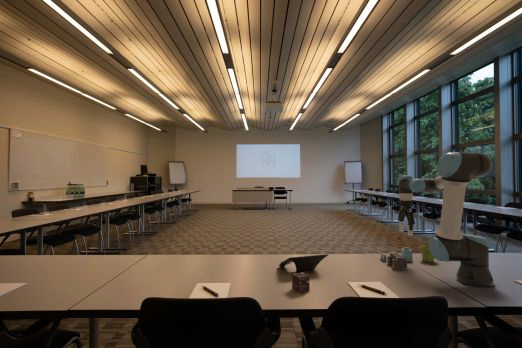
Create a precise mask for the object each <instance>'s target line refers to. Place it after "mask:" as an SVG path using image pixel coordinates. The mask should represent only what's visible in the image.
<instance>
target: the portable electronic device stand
mask: <svg viewBox="0 0 522 348" xmlns="http://www.w3.org/2000/svg"><path fill="white" fill-rule="evenodd" d="M328 256H329V254H328V253H326V254H316V255H315V254H314V255H304V256H293V257H288V258H286V259H285V260H283V261H281V262H280V263H279V264H278V267H279V268H284V267H287V266H288V265H290V264H291V263H294V266H295V273H313V272H314V271H315V269H316V268H317V266H318V265H319V264H320V263H321V262H322V261H323V260H324V259H325V258H326V257H328Z"/></svg>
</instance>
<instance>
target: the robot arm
mask: <svg viewBox="0 0 522 348" xmlns="http://www.w3.org/2000/svg"><path fill="white" fill-rule="evenodd" d="M436 169H437V171H438V172H437V173H438V176H436V177H433V178H413V176H412V175H400V176H399V178H398V188H399V189H398V197H399V201H398V203H399V204H398V206H399V212H398V215H397V220H398V222H399V223H398V224H399V228H398V230H399V232H401V233H403V232H405V218H406V220H407V236H408V237H411V236H412V237H414V225H415V224H416V223H415V222H416V221H415V218H414V214H413V208H411V207H413V192H418V193H419V192H443V195H442V207H441V213H440V214H441V215H440V221H439V229H438V230H436V231H435V234H434V235H435V236H432V237H431V238H429V240H428V246H429V249H430V252H431V254H432V256H433V257H434V260H436V261H438V262H446V263H448V262H460V263H459V266H458V270H457V272H456V275H455V276H456V280H457V281H458V282H460V283H461V284H465V285H467V286H472V287H473V286H474V287H481V288H483V287H484V288H490V287H494V281H495V280H494V277H493V275H492V273H491V271H490V265H489V263H490V260H489V259H490V258H489V257H490V256H489V253H490V245H489V240H488V239H487V238H486V237H483V236H480V235H474V234H471V233H470V234H469V233H461V227H462V220H463V211H464V205H465V197H466V189H467V188H466V187H467V185H469V184H470V183H471V181H472V180H476V179H479V178H482V177H485V176H487V175H488V174H489V173H491V170H492V169H493V162H492V160H491V158H490V157H489V156H488V155H486V154H484V153H481V152H476V151H475V152H465V151H464V152H462V151H461V152H458V151H455V152H447V153H444V154H443V155H442V156H441V157H440V158H439V160H438V162H437V167H436Z"/></svg>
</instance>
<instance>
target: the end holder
mask: <svg viewBox="0 0 522 348" xmlns="http://www.w3.org/2000/svg"><path fill="white" fill-rule="evenodd" d="M380 260H381V261H383V262H384V263H388V257H387V255H386V254H385V253H383V252H380Z"/></svg>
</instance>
